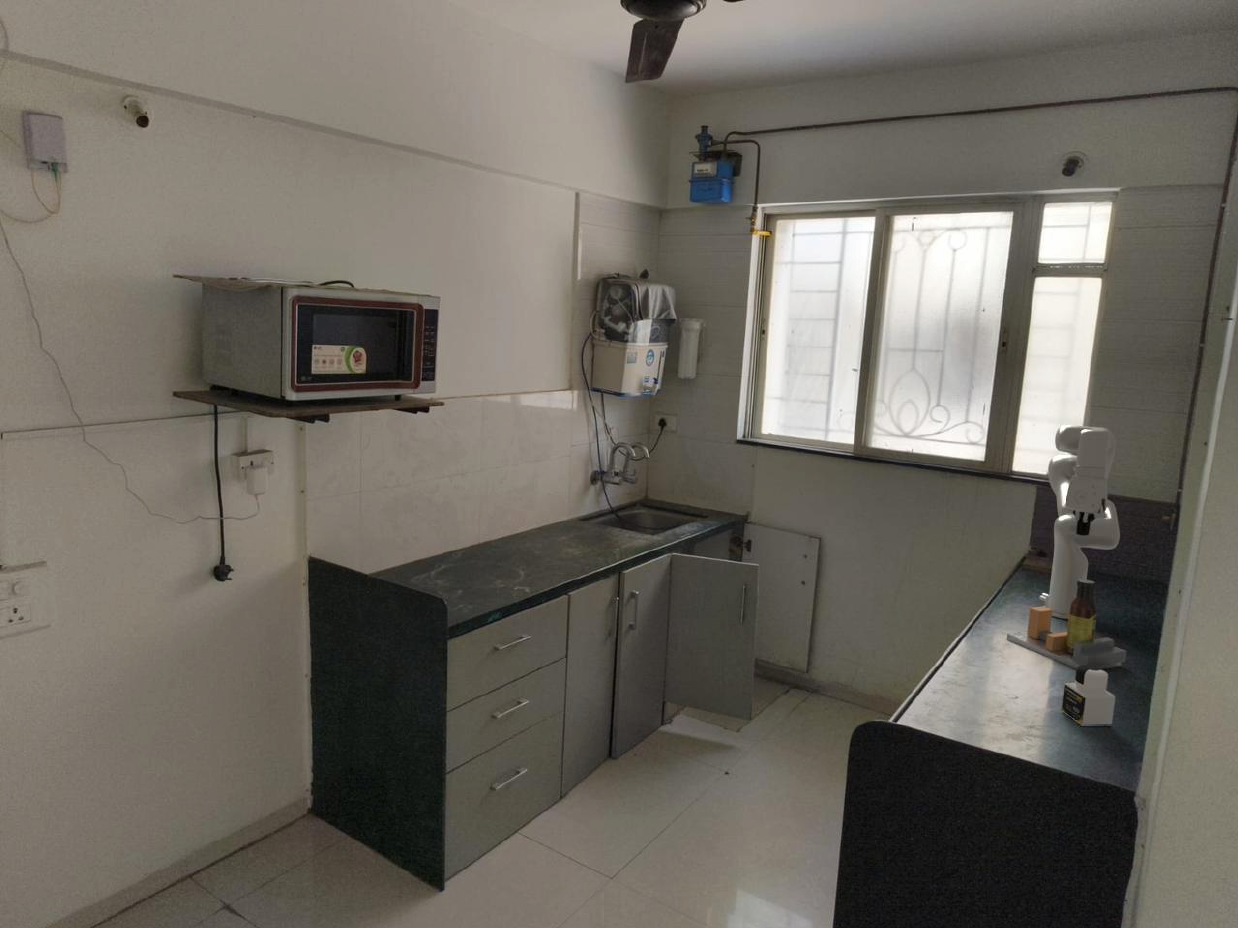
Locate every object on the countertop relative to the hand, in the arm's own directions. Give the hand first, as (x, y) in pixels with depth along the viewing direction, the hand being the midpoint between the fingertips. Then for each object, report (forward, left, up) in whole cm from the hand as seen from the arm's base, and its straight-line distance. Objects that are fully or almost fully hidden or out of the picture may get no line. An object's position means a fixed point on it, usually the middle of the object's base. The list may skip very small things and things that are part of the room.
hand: (1082, 534), depth 230 cm
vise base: (+12, -18, -29) cm, 36 cm away
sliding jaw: (+8, -18, -27) cm, 34 cm away
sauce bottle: (+17, -18, -28) cm, 37 cm away
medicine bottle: (+44, -49, -29) cm, 72 cm away
